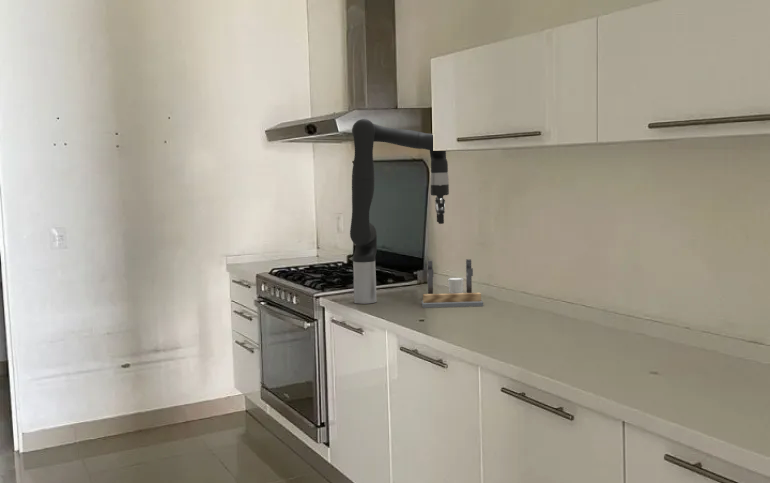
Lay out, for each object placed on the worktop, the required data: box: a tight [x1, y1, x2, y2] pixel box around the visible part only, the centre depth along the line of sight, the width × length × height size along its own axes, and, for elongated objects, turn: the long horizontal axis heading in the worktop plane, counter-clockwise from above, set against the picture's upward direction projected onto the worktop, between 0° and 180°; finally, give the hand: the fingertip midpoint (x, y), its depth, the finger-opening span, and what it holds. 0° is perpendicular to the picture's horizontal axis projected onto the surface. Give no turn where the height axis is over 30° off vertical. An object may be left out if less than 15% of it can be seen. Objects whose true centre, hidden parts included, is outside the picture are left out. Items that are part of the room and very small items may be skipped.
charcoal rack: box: [426, 258, 474, 294], centre depth 312 cm, size 19×6×17 cm, turn 90°
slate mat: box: [421, 299, 484, 309], centre depth 305 cm, size 24×8×2 cm, turn 90°
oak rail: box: [422, 292, 482, 303], centre depth 305 cm, size 23×3×3 cm, turn 90°
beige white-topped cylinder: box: [447, 277, 465, 293], centre depth 329 cm, size 7×7×7 cm
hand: (440, 222), depth 316 cm, fingers open, 8 cm apart
